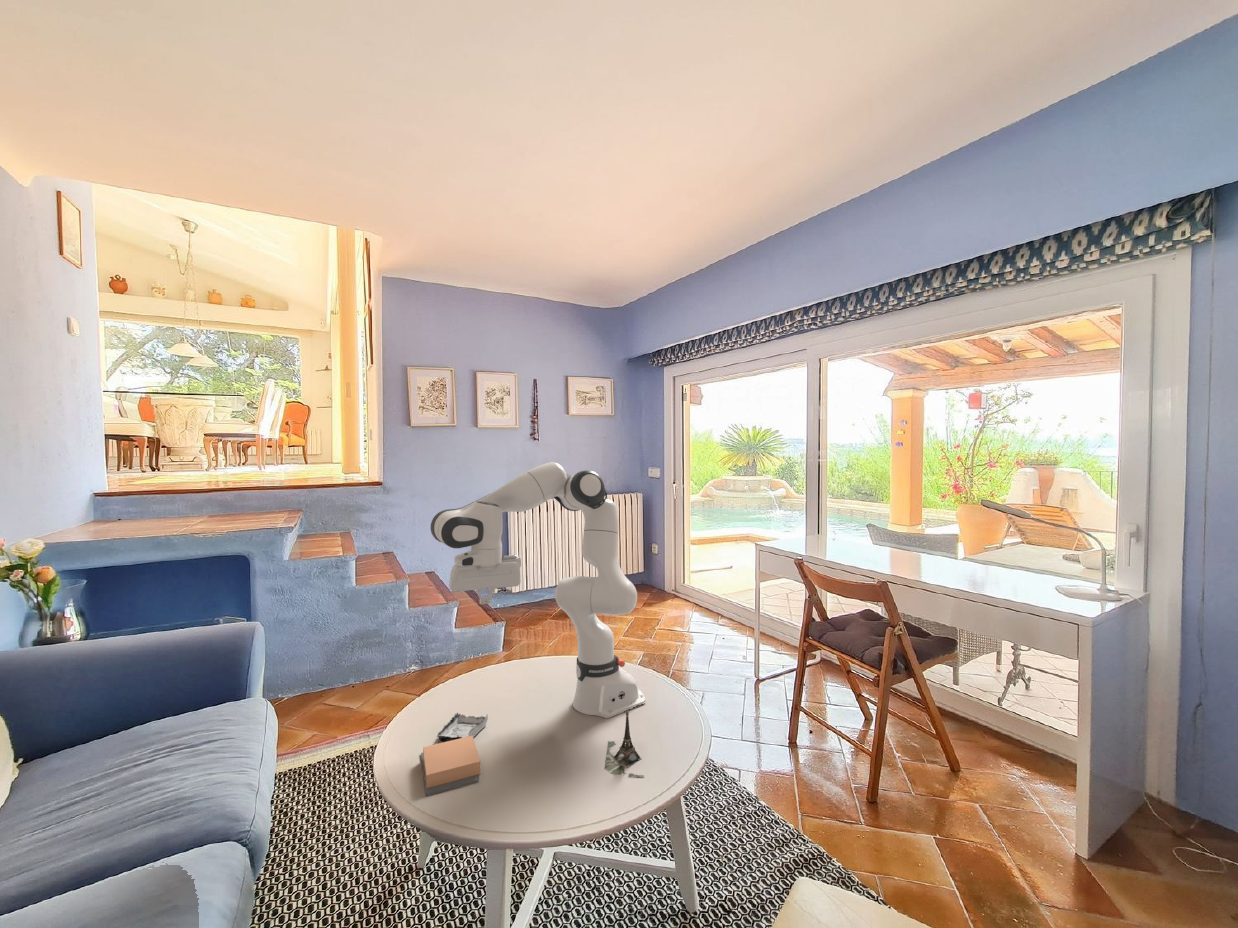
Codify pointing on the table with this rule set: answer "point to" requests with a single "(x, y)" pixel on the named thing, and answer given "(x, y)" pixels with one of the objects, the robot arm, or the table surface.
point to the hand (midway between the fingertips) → (485, 603)
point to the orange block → (450, 761)
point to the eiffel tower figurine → (622, 755)
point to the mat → (448, 785)
